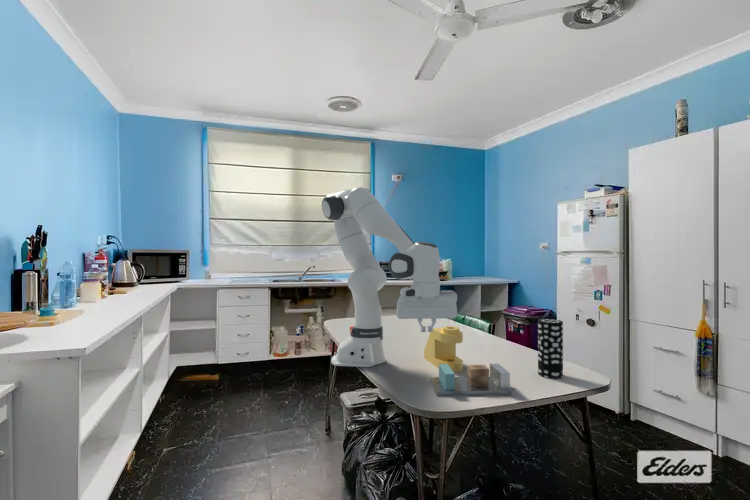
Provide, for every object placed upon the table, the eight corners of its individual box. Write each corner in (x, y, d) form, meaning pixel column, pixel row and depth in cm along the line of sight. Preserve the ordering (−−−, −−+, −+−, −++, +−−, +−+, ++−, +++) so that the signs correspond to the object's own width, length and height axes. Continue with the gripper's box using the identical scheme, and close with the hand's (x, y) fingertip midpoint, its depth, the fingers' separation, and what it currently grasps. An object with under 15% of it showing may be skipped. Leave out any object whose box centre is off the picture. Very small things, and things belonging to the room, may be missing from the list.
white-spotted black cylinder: (543, 369, 143) (543, 318, 143) (566, 374, 137) (566, 320, 137) (534, 374, 137) (534, 321, 137) (558, 380, 132) (557, 324, 132)
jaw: (445, 389, 119) (445, 374, 119) (438, 378, 129) (438, 364, 129) (454, 389, 119) (454, 374, 119) (447, 378, 129) (447, 364, 129)
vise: (437, 396, 118) (437, 375, 118) (429, 381, 131) (429, 363, 131) (511, 394, 119) (511, 374, 119) (496, 380, 132) (496, 362, 132)
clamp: (467, 371, 142) (467, 329, 142) (445, 373, 139) (445, 331, 139) (443, 356, 161) (443, 320, 161) (424, 358, 158) (424, 321, 158)
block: (471, 385, 122) (471, 369, 122) (467, 381, 127) (467, 365, 127) (489, 385, 123) (489, 369, 123) (484, 380, 127) (484, 364, 127)
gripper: (454, 289, 128) (455, 329, 128) (395, 289, 127) (395, 330, 127) (459, 291, 121) (459, 333, 121) (397, 291, 120) (397, 334, 120)
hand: (426, 331), depth 124 cm, fingers closed
